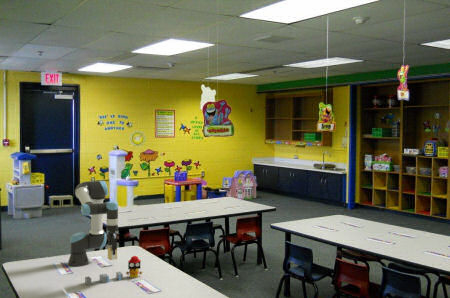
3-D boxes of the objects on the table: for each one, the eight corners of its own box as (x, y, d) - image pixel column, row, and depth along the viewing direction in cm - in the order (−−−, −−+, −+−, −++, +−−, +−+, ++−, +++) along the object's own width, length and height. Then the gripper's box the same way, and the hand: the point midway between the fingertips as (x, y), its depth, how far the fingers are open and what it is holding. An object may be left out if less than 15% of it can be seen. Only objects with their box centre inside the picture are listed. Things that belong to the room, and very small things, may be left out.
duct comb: (85, 284, 301) (85, 276, 301) (120, 278, 313) (120, 271, 313) (87, 287, 296) (87, 279, 295) (122, 281, 308) (122, 274, 308)
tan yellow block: (107, 258, 308) (107, 245, 308) (115, 257, 310) (114, 244, 310) (109, 260, 303) (109, 247, 303) (117, 259, 306) (117, 246, 306)
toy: (126, 279, 312) (126, 258, 311) (125, 275, 320) (125, 254, 320) (142, 278, 315) (142, 257, 314) (141, 274, 323) (141, 253, 323)
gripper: (103, 222, 312) (103, 255, 313) (110, 227, 296) (110, 262, 297) (113, 221, 316) (113, 254, 317) (121, 226, 300) (121, 260, 301)
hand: (112, 258), depth 307 cm, fingers closed on tan yellow block, 5 cm apart
